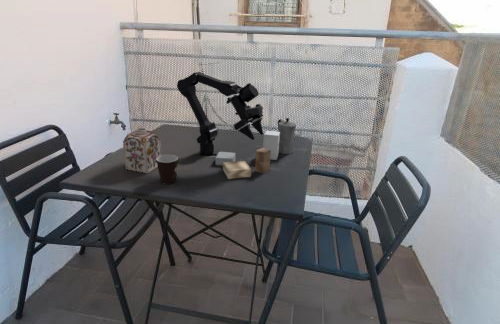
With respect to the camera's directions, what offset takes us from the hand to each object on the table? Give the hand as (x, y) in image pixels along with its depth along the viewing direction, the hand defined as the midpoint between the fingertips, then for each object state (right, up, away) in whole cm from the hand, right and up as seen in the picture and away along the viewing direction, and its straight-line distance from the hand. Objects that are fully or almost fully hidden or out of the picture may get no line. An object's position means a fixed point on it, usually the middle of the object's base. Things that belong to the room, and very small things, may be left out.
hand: (258, 136), depth 153 cm
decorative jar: (-52, -14, -2) cm, 53 cm away
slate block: (-15, -12, +6) cm, 21 cm away
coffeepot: (+14, -6, +24) cm, 29 cm away
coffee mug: (-37, -19, -13) cm, 44 cm away
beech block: (-10, -17, -5) cm, 20 cm away
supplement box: (+7, -9, +15) cm, 19 cm away
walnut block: (+2, -16, -2) cm, 16 cm away
